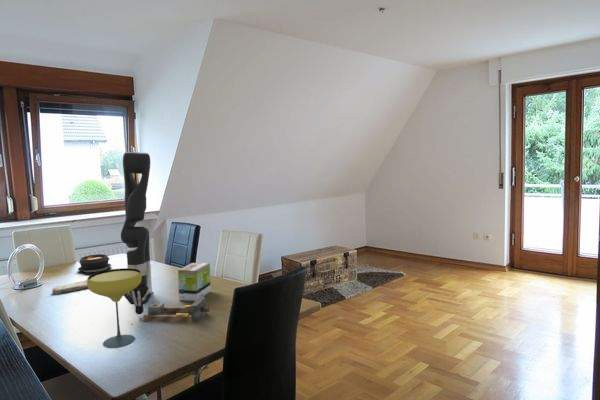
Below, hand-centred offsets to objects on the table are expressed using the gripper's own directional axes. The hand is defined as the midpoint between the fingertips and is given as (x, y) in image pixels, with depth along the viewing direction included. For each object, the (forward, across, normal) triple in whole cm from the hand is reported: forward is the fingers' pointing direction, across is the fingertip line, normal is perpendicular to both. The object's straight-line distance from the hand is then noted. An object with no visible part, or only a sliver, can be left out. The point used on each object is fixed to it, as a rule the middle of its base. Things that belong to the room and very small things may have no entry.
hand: (139, 313), depth 179 cm
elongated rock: (+2, -50, +42) cm, 65 cm away
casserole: (+2, -67, +75) cm, 101 cm away
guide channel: (+1, +17, 0) cm, 17 cm away
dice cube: (+2, +7, +1) cm, 7 cm away
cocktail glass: (+2, +4, -24) cm, 24 cm away
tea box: (+2, +14, +28) cm, 32 cm away
